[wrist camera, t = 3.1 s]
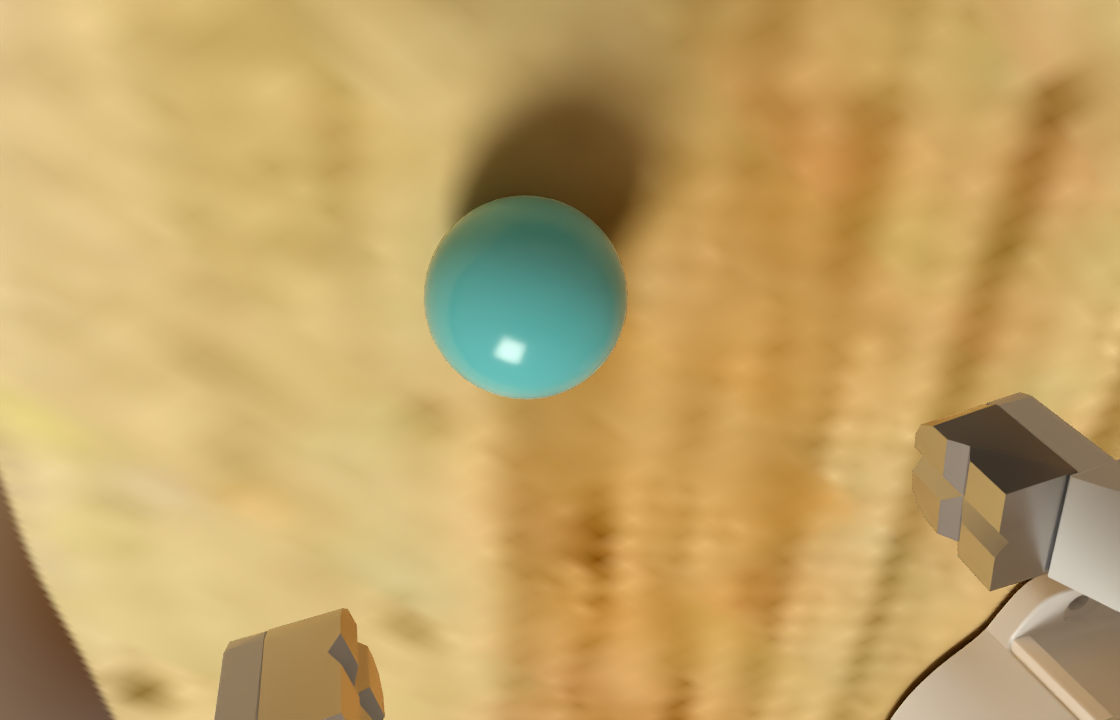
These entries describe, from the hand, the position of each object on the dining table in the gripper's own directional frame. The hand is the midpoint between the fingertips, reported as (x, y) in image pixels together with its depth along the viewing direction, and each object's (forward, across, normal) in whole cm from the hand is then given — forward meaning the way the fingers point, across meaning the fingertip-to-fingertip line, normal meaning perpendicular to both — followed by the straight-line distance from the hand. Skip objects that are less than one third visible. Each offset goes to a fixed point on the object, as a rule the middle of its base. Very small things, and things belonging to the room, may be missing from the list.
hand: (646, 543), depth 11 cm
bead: (+8, 0, 0) cm, 8 cm away
